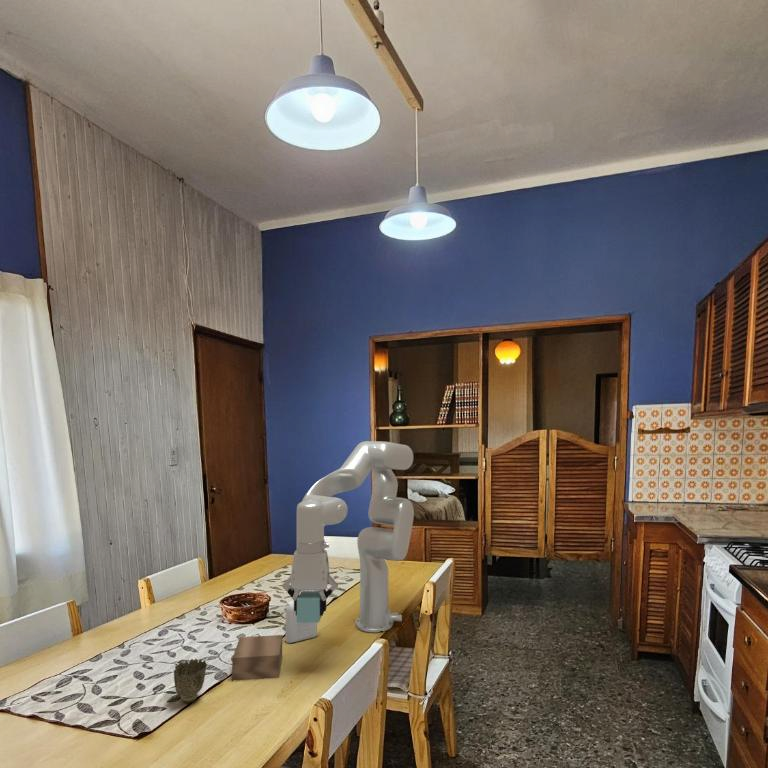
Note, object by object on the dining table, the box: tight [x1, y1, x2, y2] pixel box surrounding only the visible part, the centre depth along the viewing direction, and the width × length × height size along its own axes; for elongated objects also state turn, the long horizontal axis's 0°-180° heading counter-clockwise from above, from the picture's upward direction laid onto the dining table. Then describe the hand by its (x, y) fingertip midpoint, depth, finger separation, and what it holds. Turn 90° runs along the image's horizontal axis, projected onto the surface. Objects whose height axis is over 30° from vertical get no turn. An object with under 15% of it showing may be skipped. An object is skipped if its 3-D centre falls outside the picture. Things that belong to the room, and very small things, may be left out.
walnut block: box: [231, 634, 284, 682], centre depth 130 cm, size 12×12×6 cm
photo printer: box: [284, 599, 318, 644], centre depth 148 cm, size 10×4×12 cm, turn 123°
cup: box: [173, 658, 208, 704], centre depth 115 cm, size 8×7×8 cm
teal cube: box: [297, 590, 322, 624], centre depth 130 cm, size 6×6×6 cm
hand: (310, 613), depth 130 cm, fingers closed on teal cube, 6 cm apart
